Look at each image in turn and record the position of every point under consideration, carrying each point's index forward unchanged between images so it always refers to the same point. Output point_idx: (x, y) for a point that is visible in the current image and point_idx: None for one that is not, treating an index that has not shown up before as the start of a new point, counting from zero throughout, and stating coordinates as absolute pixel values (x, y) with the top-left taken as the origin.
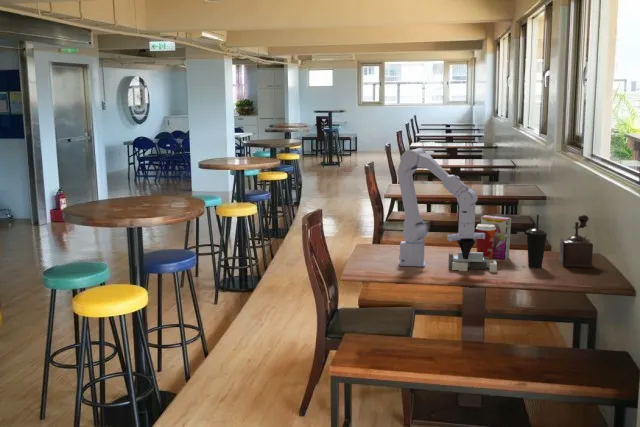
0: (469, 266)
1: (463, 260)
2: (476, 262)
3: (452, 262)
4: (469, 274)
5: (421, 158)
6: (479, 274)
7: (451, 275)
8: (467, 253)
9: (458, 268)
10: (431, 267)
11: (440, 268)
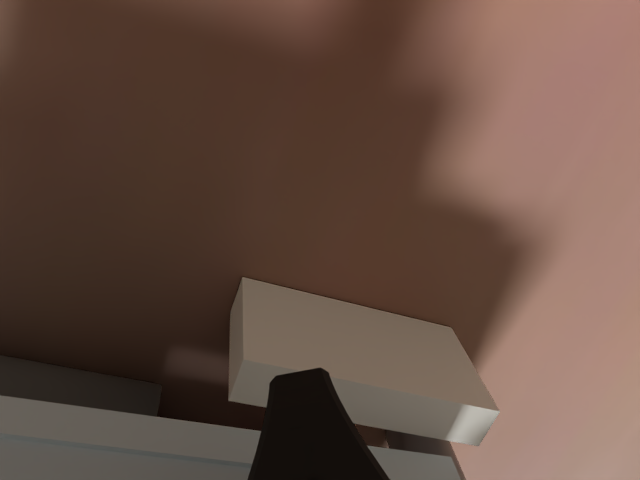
0: None
1: None
2: None
3: (491, 421)
4: (280, 79)
5: None
6: (86, 46)
7: (608, 66)
8: (317, 477)
9: (378, 328)
10: (611, 468)
11: (538, 428)
